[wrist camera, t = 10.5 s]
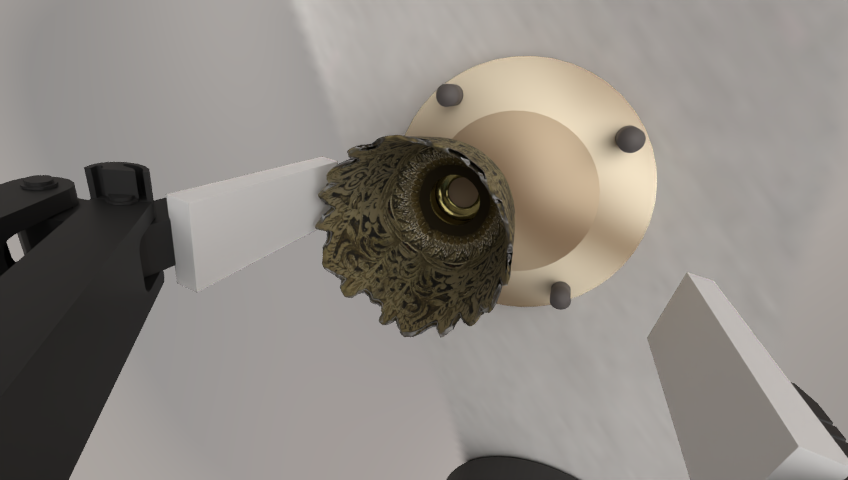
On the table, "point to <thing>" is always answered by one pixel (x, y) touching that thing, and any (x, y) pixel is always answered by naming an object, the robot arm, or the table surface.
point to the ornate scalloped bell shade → (418, 231)
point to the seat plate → (552, 169)
